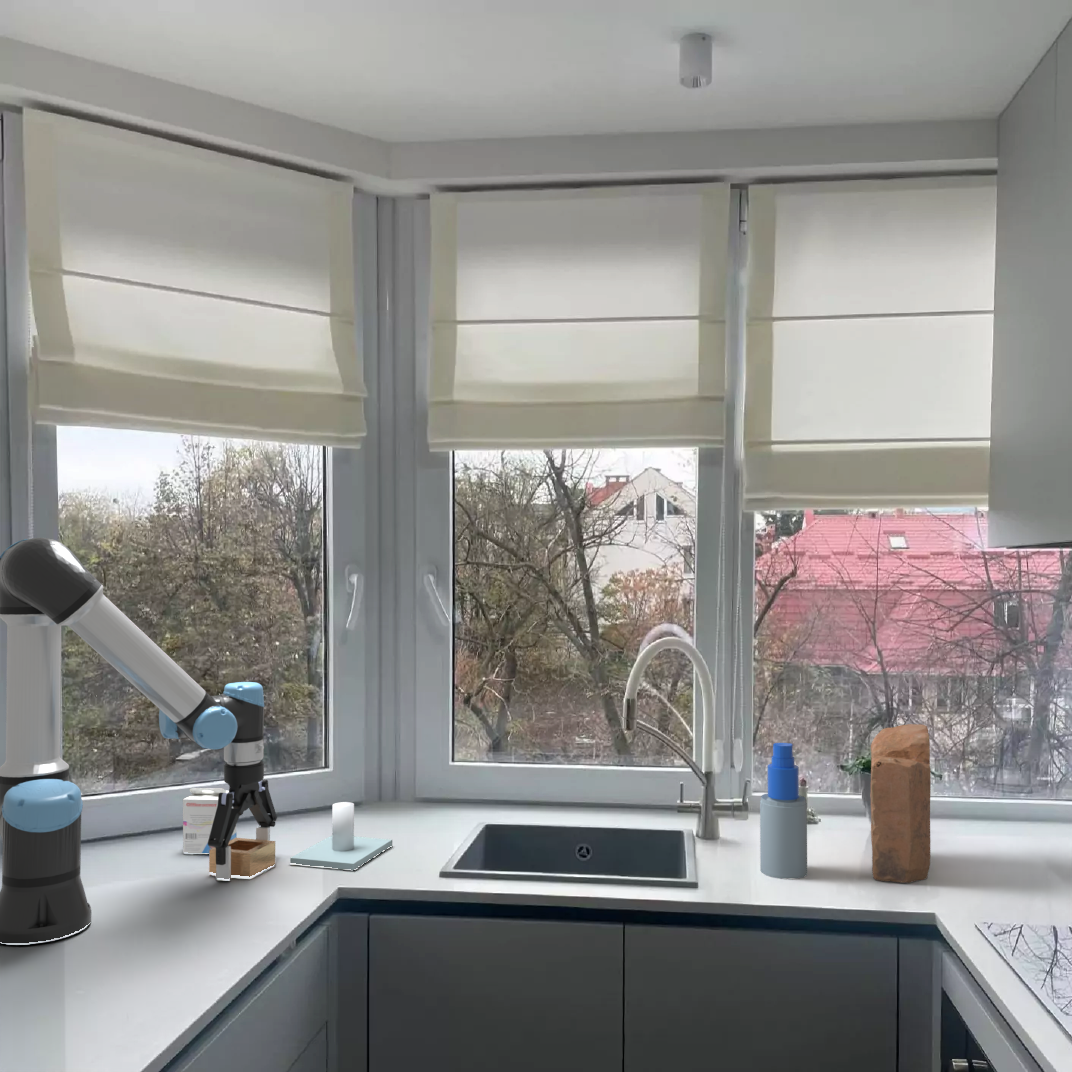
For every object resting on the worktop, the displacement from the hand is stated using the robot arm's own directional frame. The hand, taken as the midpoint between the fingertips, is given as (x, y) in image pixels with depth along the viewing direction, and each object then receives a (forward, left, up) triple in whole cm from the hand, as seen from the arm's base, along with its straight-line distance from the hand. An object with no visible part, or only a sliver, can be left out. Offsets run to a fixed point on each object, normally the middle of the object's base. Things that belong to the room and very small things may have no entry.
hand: (243, 870), depth 195 cm
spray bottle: (+30, -102, 0) cm, 106 cm away
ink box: (+11, +15, 0) cm, 19 cm away
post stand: (+15, -14, 0) cm, 20 cm away
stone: (+39, -124, 0) cm, 130 cm away
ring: (0, 0, 0) cm, 0 cm away
